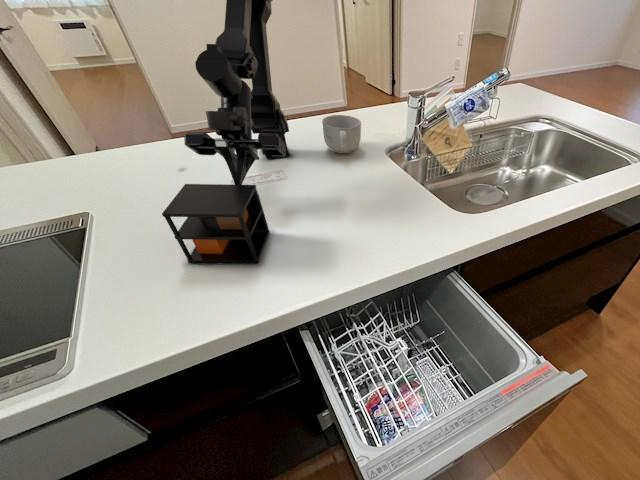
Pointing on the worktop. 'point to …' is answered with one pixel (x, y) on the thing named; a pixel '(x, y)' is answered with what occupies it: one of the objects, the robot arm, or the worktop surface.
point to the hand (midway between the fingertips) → (238, 185)
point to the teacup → (342, 133)
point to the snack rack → (220, 223)
